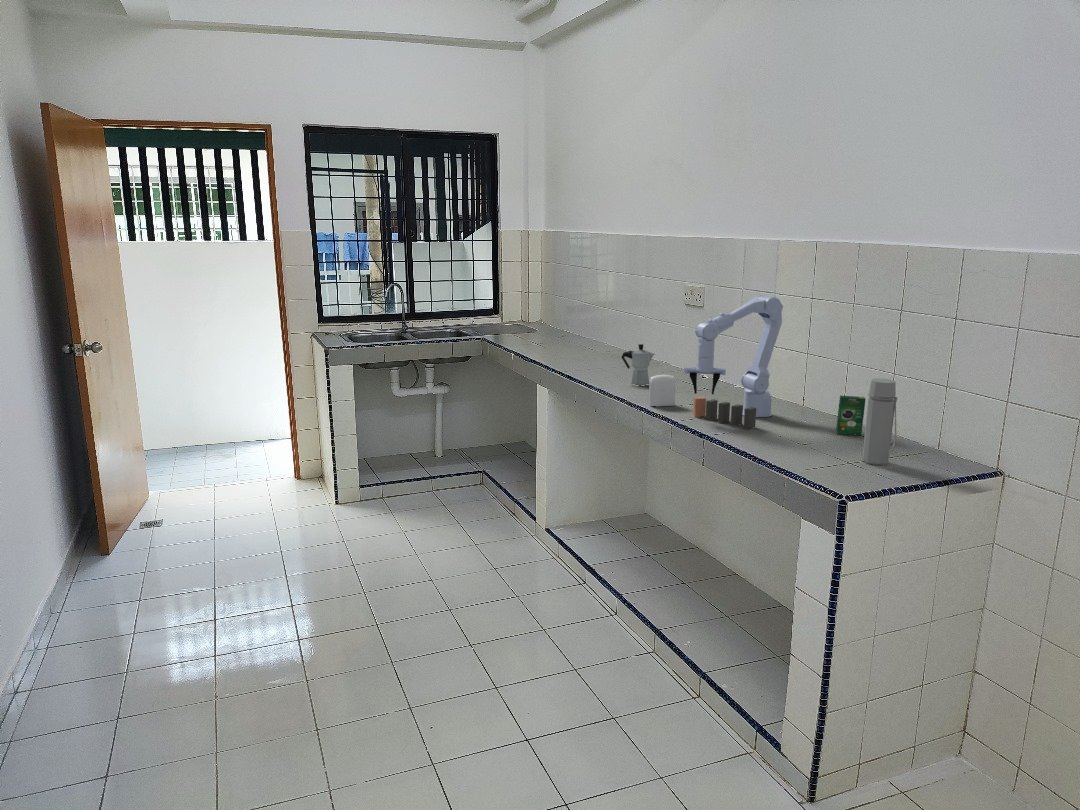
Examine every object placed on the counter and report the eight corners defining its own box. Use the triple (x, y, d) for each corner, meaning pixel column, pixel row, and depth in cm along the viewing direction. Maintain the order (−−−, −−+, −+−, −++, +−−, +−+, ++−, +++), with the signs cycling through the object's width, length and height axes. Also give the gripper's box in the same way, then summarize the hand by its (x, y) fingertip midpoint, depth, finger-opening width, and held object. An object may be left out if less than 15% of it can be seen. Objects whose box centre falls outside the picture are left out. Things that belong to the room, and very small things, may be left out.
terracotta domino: (705, 416, 285) (706, 398, 284) (694, 417, 285) (695, 398, 283) (703, 415, 287) (704, 397, 285) (693, 415, 287) (693, 397, 285)
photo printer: (650, 407, 300) (651, 376, 297) (647, 404, 304) (648, 374, 301) (676, 406, 301) (677, 375, 298) (673, 404, 305) (674, 373, 302)
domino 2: (729, 421, 278) (730, 402, 277) (722, 423, 276) (723, 404, 274) (724, 420, 280) (725, 401, 278) (717, 422, 277) (718, 403, 276)
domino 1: (716, 418, 282) (717, 400, 281) (710, 420, 280) (710, 401, 278) (712, 417, 284) (713, 399, 282) (705, 419, 281) (706, 400, 280)
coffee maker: (654, 382, 346) (655, 342, 342) (655, 386, 337) (656, 345, 333) (620, 382, 347) (621, 342, 343) (620, 386, 339) (621, 345, 335)
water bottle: (868, 466, 226) (876, 383, 220) (857, 458, 234) (864, 378, 228) (899, 466, 226) (908, 383, 220) (887, 458, 234) (895, 377, 228)
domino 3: (742, 424, 274) (743, 405, 272) (735, 426, 272) (736, 407, 270) (737, 423, 276) (738, 404, 274) (730, 425, 273) (731, 406, 271)
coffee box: (861, 433, 261) (864, 395, 258) (862, 435, 258) (865, 397, 255) (835, 432, 262) (838, 394, 259) (837, 434, 260) (840, 396, 257)
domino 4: (755, 427, 270) (756, 407, 268) (748, 429, 268) (749, 409, 266) (750, 426, 272) (751, 406, 270) (743, 428, 269) (744, 408, 267)
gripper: (726, 355, 277) (724, 391, 281) (685, 354, 281) (684, 390, 284) (726, 358, 271) (724, 396, 274) (684, 357, 274) (683, 394, 277)
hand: (704, 393), depth 278 cm, fingers open, 5 cm apart
